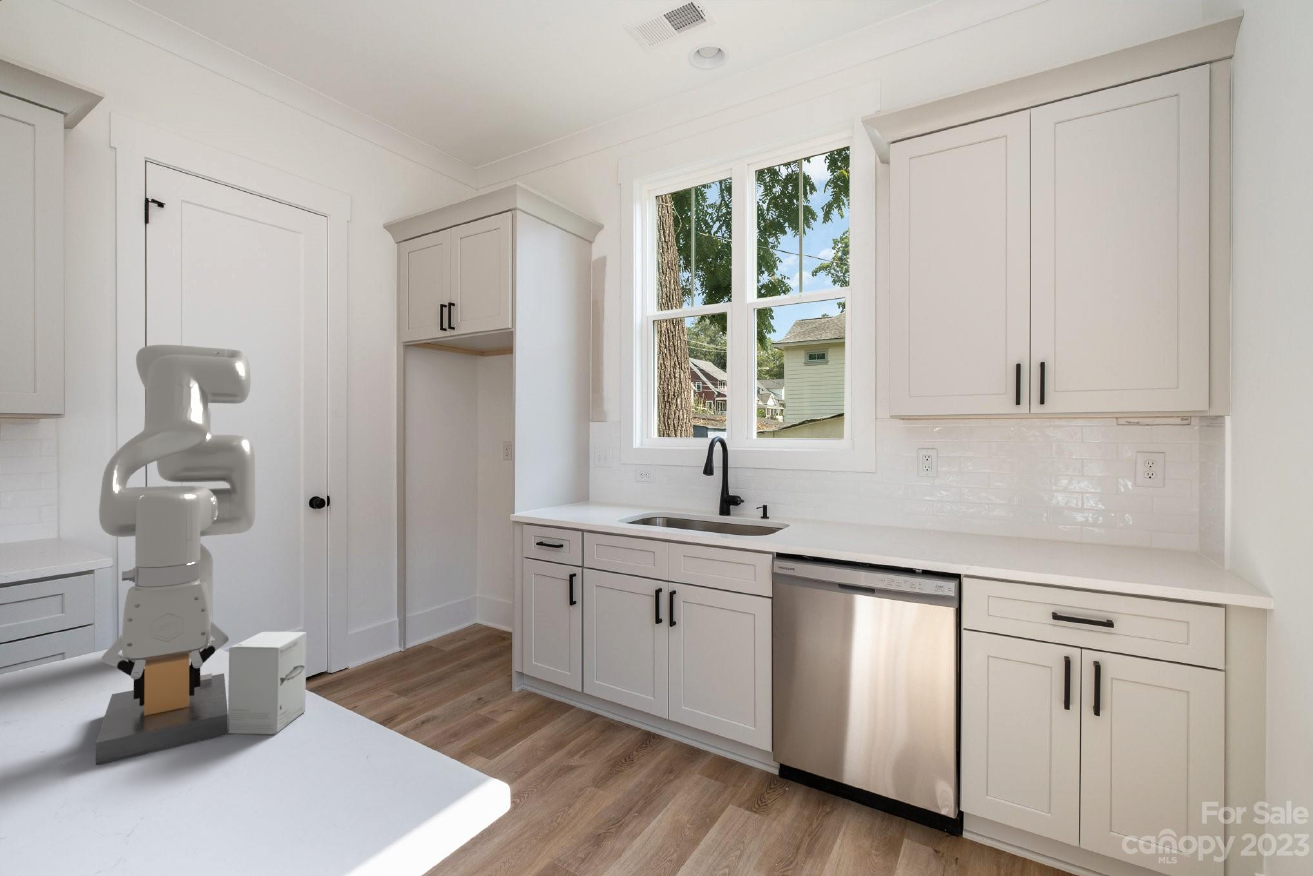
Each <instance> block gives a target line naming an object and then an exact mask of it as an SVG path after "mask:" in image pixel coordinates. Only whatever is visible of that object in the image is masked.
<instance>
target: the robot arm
mask: <svg viewBox="0 0 1313 876" xmlns="http://www.w3.org/2000/svg"><path fill="white" fill-rule="evenodd" d="M135 357H136V358H135V363H136V364H135V365H136V369H137V373H138V376H139V379H140V380H141V382H142V384H143V387H144V389H145V391H146V401H145V415H144V425H143V426H144V427H143V430H142V431H141V432H139V433H138V434H137V435H135V436H134V437H132V438H130V439H129V440H128V441H127V442H125V443H124V444H122V446H121V447H119V449H118V450H117V451H116V452H115V453H114V454H113V456H112V457H111V458H110V459H109V461H108V463H107V465H106V467H105V468H104V471H103V475H102V482H101V487H100V488H101V489H100V497H99V508H98V517H99V524H100V527H101V529H102V530H103V531H104V533H106V534H108V535H110V536H112V537H118V538H119V537H120V538H125V537H127V538H129V537H134V538H135V546H134V549H135V551H134V552H135V553H134V556H135V557H134V558H135V561H134V564H135V565H134V567H133V568H132V569H129V570H125V571H122V572H121V580H122V581H123V582H124V581H128V582H132V583H134V585H133V586H131V587H129V589H128V590H127V592H126V593H127V594H126V597H125V601H124V609H123V615H122V616H123V617H122V618H123V619H122V630H121V635H120V636H119V637H118V638H117V639H116V640H115V642H113V644H112V645H111V646H110V647H109V648H108V649H107V650H106V651H105V652H104V653H103V655H102V656H101V658H100V660H101V662H102V663H104V664H107V665H109V666H112V667H114V668H117V669H118V670H119V671H121V672H122V673H124V674H125V675H128V676H130V678H131V679H132V680H133V690H134V699H139V706H143V705H144V689H145V663H146V661H147V659H148V658H154V657H161V656H167V655H173V654H179V653H185V652H188V654H189V657H190V666H189V695H190V696H193V695H194V691H195V688H196V687H200V675H201V668H202V667H203V664H204V663H206V662H207V660H209V658H211V656H213V655H214V653H215V652H217V650H219V649H220V648H222V647H223V646H224V645H226V644H227V643H228V642H229V635H228V634H227V633H226V632H224V631H223V630H222V629H221V628H220V627H219V626H218V625H216V623H214V622H213V621H214V620H213V610H214V609H213V607H214V606H213V604H214V603H213V602H214V600H213V598H214V597H213V596H214V588H213V587H214V585H213V584H214V581H213V580H214V579H213V578H214V563H213V562H214V559H213V556H212V553H211V552H210V550H209V549H208V548H207V547H206V546H205V545H204V544H202V542H201V538H202V537H207V536H221V535H223V536H224V535H233V534H235V535H236V534H241V533H245V532H248V531H250V530H251V529H252V527H253V526H254V523H255V519H256V461H255V460H256V458H255V451H254V446H253V444H252V442H251V441H250V439H248V438H247V437H245V436H243V435H242V436H241V435H237V434H236V435H234V434H230V435H229V434H212V431H211V415H212V414H211V409H210V407H209V404H230V405H231V404H232V405H233V404H234V405H235V404H242V403H244V402H246V400H247V398H248V396H249V393H250V389H251V381H252V379H251V367H250V362H249V359H248V357H247V355H246V354H245V353H244V352H243V351H240V350H238V349H232V348H231V349H229V348H219V347H218V348H217V347H206V346H205V347H203V346H194V345H193V346H191V345H177V344H152V345H147V346H143V347H141V348H140V349H139V350H138V351H137V354H136V356H135ZM154 462H156V467H157V472H158V475H159V476H160V478H161V479H163V480H164V481H167V482H171V483H207V482H209V483H210V482H211V483H212V482H214V483H215V482H217V483H218V482H224V483H227V485H229V487H224V488H222V487H221V488H219V487H218V488H207V487H205V486H201V485H176V486H174V485H173V486H168V485H167V486H166V485H164V486H163V485H162V486H161V485H159V486H137V487H135V486H134V487H133V486H132V487H131V486H130V487H127V486H128V485H127V484H128V481H129V479H130V478H131V477H132V475H133V474H135V473H136V472H137V471H138V470H140V469H141V468H143V467H145V466H147V465H149V464H151V463H154ZM208 644H209V645H208ZM120 652H121V654H122V655H119V653H120Z"/></svg>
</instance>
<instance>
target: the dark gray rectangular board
mask: <svg viewBox="0 0 1313 876" xmlns="http://www.w3.org/2000/svg"><path fill="white" fill-rule="evenodd" d="M225 678H226V677H225V673H218V674H213V675H212V673H207V674H202V675H201V674H200V687H196V688H195V691H194V695H193V696H190V695H189V707H184V708H179V709H175V710H170V711H165V712H160V713H155V714H150V715H146V716H144V705H143V706H139V699H134V689H133V690H128V691H123V692H116V693H112V694H111V696H110V699H109V702H108V705H107V708H106V712H105V714H104V718H103V721H102V723H101V726H100V729H99V731H98V732H99V733H98V734H97V737H96V741H95V767H97V766H100V765H106V764H109V763H114V762H119V761H122V760H126V759H127V760H128V759H130V758H135V757H139V756H143V755H148V754H152V753H156V752H160V751H164V750H169V749H172V748H173V749H174V748H177V747H181V746H186V745H191V744H195V743H198V742H202V741H203V742H204V741H207V740H211V739H216V738H219V737H223V736H228V734H229V733H228V701H227V700H228V699H227V690H226V679H225Z"/></svg>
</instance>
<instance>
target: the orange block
mask: <svg viewBox="0 0 1313 876" xmlns="http://www.w3.org/2000/svg"><path fill="white" fill-rule="evenodd" d="M190 662H191V660H190V657H189V654H188V652H185V653H179V654H173V655H167V656H161V657H154V658H148V659H147V661H146V663H145V667H144V669H145V689H144V716H146V715H150V714H155V713H160V712H165V711H170V710H175V709H179V708H184V707H189V666H190Z"/></svg>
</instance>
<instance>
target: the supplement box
mask: <svg viewBox="0 0 1313 876" xmlns="http://www.w3.org/2000/svg"><path fill="white" fill-rule="evenodd" d="M306 674H307V632H306V631H261V632H259V633H256V634H255V635H253V636H250V637H249V638H247V639H244V640H242V641H241V642H238V643H236V644H234V645H232V646H230V647H229V648H228V690H227V691H228V693H227V694H228V697H227V698H228V699H227V700H228V701H227V711H228V734H238V735H239V734H243V735H245V734H246V735H248V734H249V735H277V734H278V733H279V732H280V731H281V730H282V729H284V728H285V727H287V726H288V725H289V724H290V723H291V722H293V721H294V720H296V719H297V718H298V717H300V716H301V715H302V713H303V714H304V713H305V712H306V691H305V690H307V689H306V685H307V680H306V679H307V677H306V676H307V675H306Z"/></svg>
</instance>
